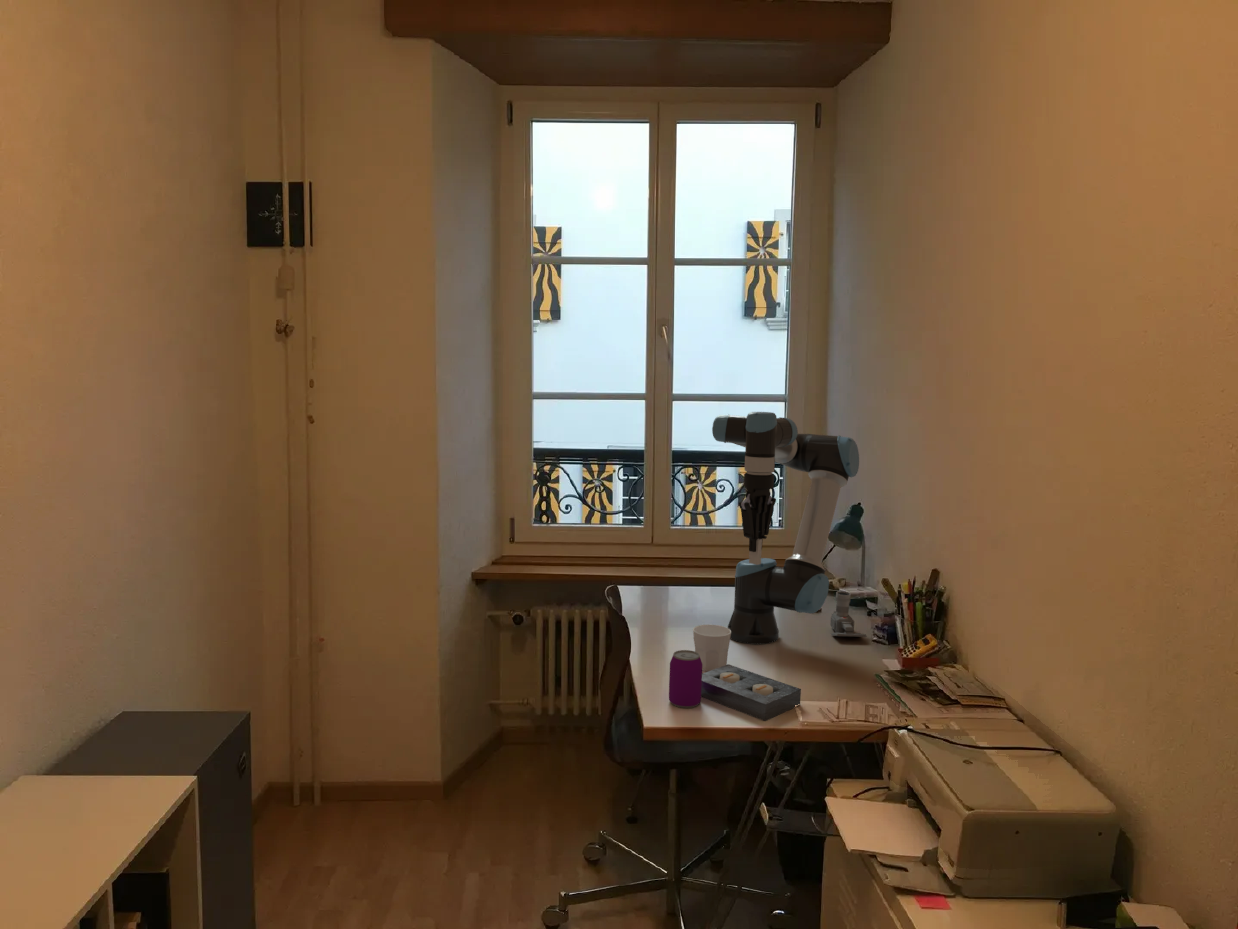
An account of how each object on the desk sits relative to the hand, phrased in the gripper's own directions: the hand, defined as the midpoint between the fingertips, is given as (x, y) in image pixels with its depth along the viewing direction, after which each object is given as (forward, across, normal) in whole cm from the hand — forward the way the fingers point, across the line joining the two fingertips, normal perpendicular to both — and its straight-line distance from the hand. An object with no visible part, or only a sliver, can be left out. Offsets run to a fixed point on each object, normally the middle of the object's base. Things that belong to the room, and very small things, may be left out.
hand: (754, 563), depth 225 cm
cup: (+30, +4, -10) cm, 32 cm away
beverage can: (+30, +28, +2) cm, 41 cm away
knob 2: (+29, +15, +15) cm, 36 cm away
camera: (+30, -48, -1) cm, 56 cm away
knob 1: (+29, +15, +5) cm, 33 cm away
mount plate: (+29, +15, +10) cm, 34 cm away
